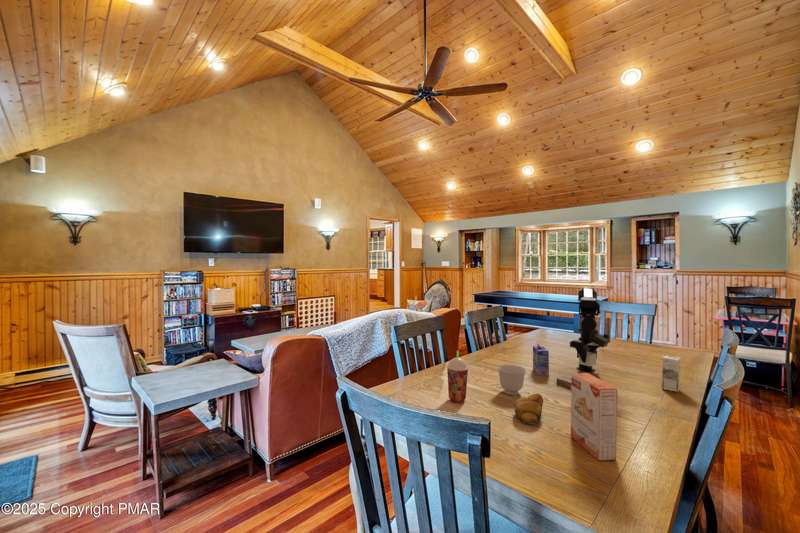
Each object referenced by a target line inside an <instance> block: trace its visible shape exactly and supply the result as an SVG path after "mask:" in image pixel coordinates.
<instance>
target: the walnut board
mask: <svg viewBox="0 0 800 533" xmlns="http://www.w3.org/2000/svg"><path fill="white" fill-rule="evenodd" d="M571 384H572V374H567V375H564V376H560V377H556V385H559V386H562V387H564V388H567V389H570V390H571Z"/></svg>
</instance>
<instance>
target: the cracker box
mask: <svg viewBox="0 0 800 533" xmlns="http://www.w3.org/2000/svg"><path fill="white" fill-rule="evenodd" d="M571 375H572V384H571V389H570V390H571V392H570V395H571V398H570V402H571V403H570V437H571V438H572V439H573V440H574V441H576V442H577V443H578V445H580V446H581V447H582V448H583V449H584V450H586V451H587V453H588V454H590V455H591V456H592V457H593V458H594V459H595V460H596V461H598V462H599V461H600V462H602V461H616V460H617V440H618V439H617V436H618V434H617V430H618V429H617V427H618V426H617V425H618V388H616V387H614V386H613V385H611V384H609V383H607V382H605V381H603V380H601V379H600V378H598V377H597V376H594V375H593V374H590V372H574V373H571Z"/></svg>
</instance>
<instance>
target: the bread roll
mask: <svg viewBox="0 0 800 533" xmlns="http://www.w3.org/2000/svg"><path fill="white" fill-rule="evenodd" d="M543 404H544V398H543V396H542V395H541V394H539V393H533V394H531V395H528V397H526V396H522V397H520V398H519V397H518V398H517V399H516V400H515V403H514V413H515V416H516V417H517V418H518V419H520V420H521V421H522V423H525V424H527V425H534V424H536V423H537V421H538V420H540V419H541V418H542V412H543Z"/></svg>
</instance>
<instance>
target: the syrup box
mask: <svg viewBox="0 0 800 533" xmlns="http://www.w3.org/2000/svg"><path fill="white" fill-rule="evenodd" d="M680 370H681V356H680V357H679V356H674V355H673V356H672V355H666V354H664V355H663V356H662V374H661V375H662V376H661V378H662V379H661V381H662V382H661V389H662V390H663V389H664V391H667V390H669V391H668V392H672V391H675V392H674V393H677V392H678V393H679V391H680V377H681V376H680V373H681V372H680Z"/></svg>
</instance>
